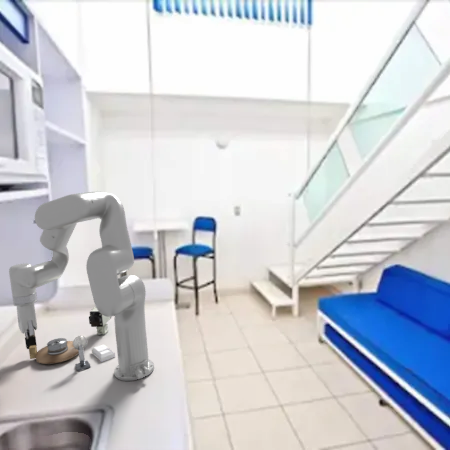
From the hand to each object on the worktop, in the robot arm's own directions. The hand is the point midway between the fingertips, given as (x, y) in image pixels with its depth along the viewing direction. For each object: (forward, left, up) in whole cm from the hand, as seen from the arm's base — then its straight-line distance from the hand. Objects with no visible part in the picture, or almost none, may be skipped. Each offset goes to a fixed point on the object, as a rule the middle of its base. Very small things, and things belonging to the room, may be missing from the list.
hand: (31, 347), depth 136 cm
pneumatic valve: (+4, -26, -4) cm, 26 cm away
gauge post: (-20, -13, -4) cm, 24 cm away
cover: (-7, -8, -1) cm, 10 cm away
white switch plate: (-16, -21, -4) cm, 27 cm away
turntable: (-6, -7, -3) cm, 10 cm away
